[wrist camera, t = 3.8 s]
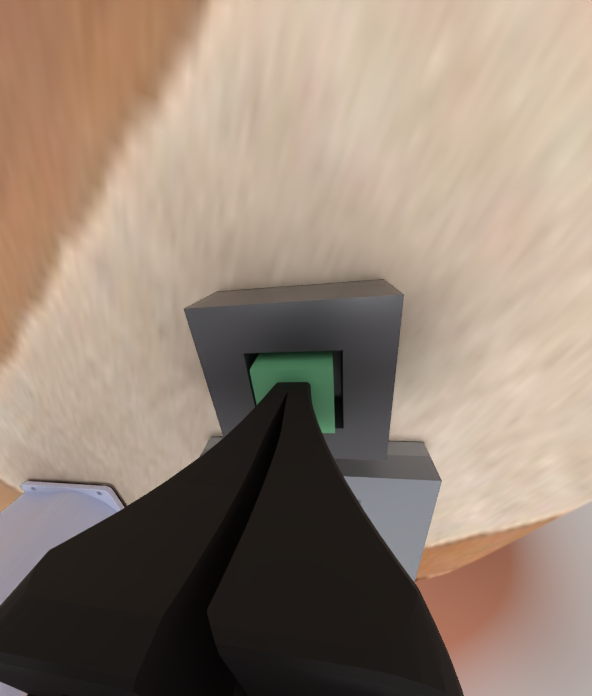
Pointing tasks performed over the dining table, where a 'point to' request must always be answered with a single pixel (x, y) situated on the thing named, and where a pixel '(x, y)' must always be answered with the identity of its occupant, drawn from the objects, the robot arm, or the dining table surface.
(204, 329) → the button housing
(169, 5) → the dining table surface
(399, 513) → the pocket plate
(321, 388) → the button
